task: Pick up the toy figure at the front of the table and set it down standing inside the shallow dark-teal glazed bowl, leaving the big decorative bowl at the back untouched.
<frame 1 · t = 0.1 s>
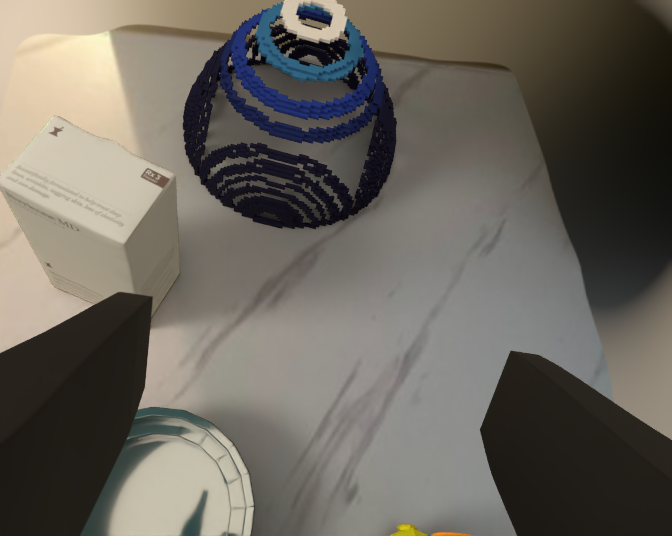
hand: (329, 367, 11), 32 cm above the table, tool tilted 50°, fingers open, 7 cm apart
cosmetic box: (123, 280, 44), on the table
glazed bowl: (153, 516, 38), on the table
decorative bowl: (291, 140, 53), on the table
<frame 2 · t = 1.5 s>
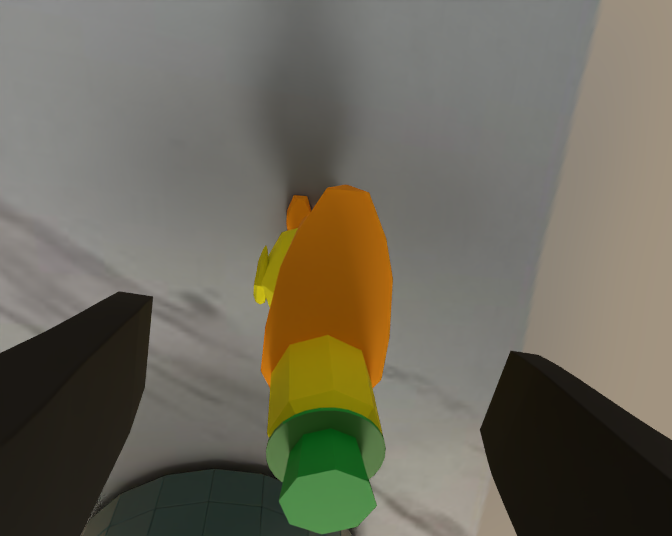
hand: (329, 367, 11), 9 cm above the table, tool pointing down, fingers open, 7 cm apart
toy figure: (313, 217, 20), on the table
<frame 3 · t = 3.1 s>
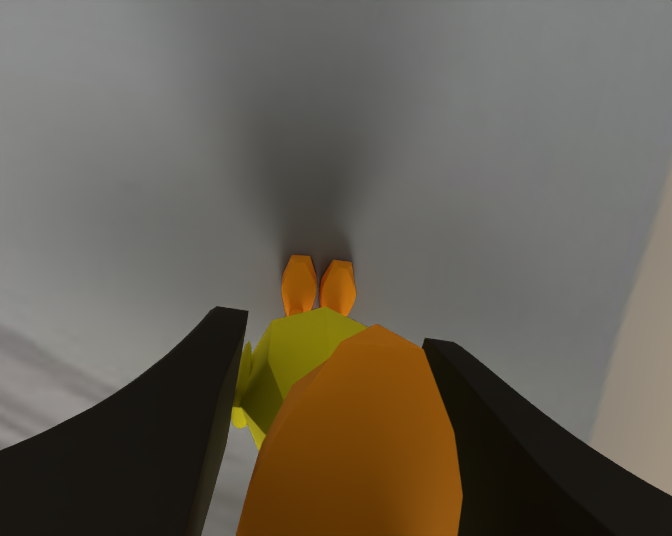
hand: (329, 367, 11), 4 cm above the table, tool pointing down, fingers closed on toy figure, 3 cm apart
toy figure: (319, 282, 14), on the table, touching gripper
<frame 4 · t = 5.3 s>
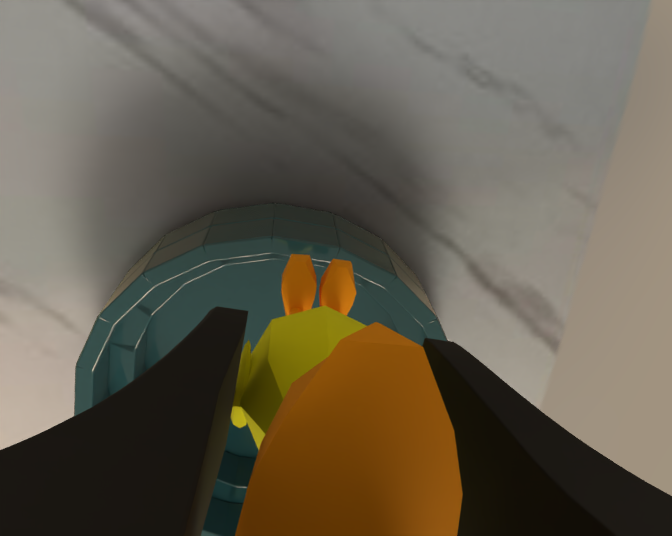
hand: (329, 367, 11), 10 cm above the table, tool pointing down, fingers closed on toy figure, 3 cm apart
toy figure: (319, 281, 14), point 6 cm above the table, touching gripper
glazed bowl: (275, 353, 23), on the table
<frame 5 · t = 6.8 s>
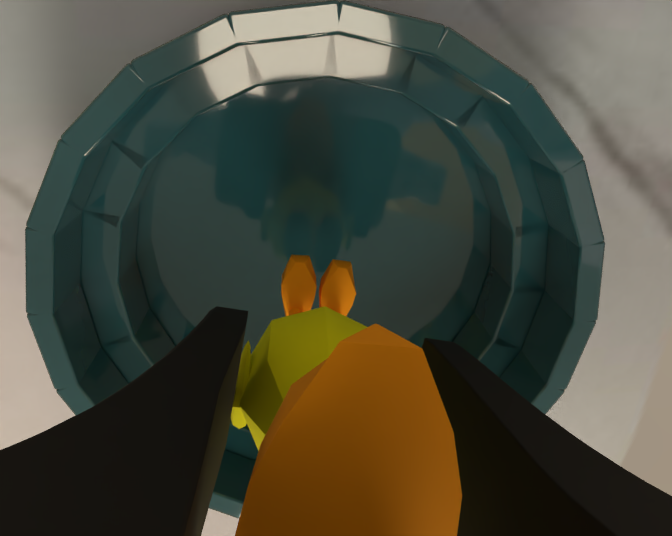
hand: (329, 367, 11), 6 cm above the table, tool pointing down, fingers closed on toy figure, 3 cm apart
toy figure: (318, 282, 14), point 2 cm above the table, touching gripper
glazed bowl: (317, 253, 16), on the table
when the fingers open (4 cm above the table, at t = 7.8 s): toy figure stays where it is, resting on glazed bowl.
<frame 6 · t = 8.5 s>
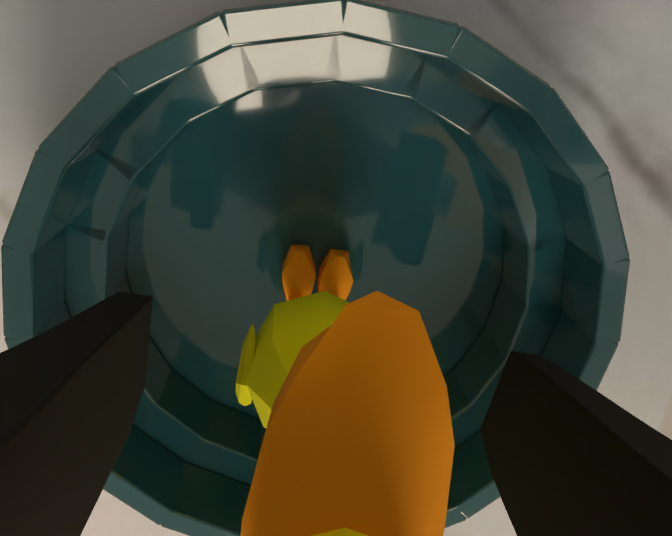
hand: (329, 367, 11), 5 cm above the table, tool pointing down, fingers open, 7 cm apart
toy figure: (317, 270, 15), resting on glazed bowl
glazed bowl: (318, 267, 15), on the table
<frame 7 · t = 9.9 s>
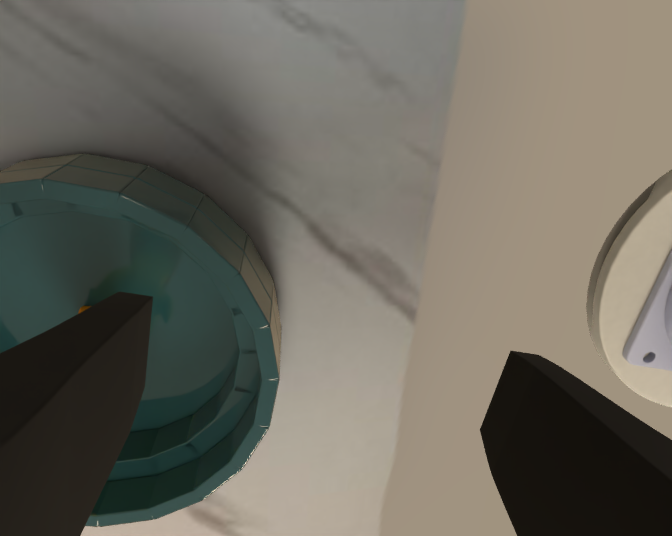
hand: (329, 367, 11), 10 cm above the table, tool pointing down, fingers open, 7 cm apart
glazed bowl: (111, 319, 22), on the table
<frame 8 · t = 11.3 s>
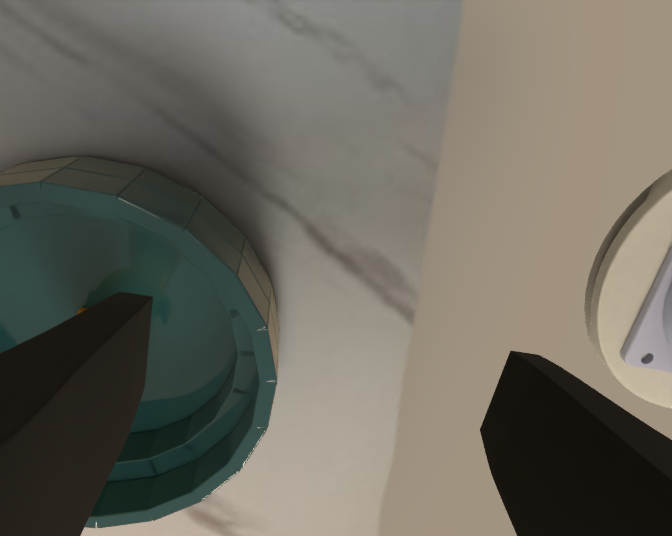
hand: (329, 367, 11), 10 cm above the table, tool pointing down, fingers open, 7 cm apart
glazed bowl: (110, 321, 22), on the table
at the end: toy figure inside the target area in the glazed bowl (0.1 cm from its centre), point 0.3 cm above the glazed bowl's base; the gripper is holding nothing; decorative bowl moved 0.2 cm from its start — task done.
